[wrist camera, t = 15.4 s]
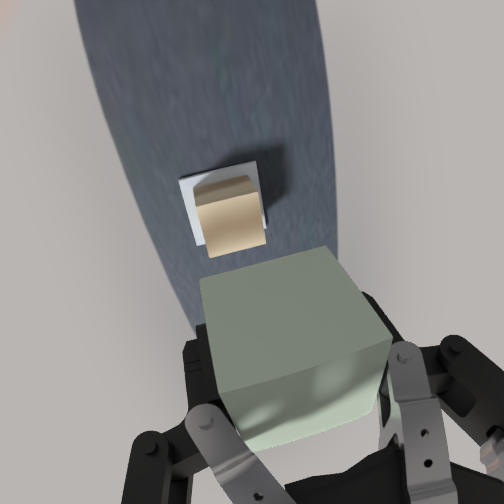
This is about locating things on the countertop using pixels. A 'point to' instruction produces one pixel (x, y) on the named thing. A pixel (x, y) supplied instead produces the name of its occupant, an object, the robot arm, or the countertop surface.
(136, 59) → the countertop surface
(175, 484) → the robot arm
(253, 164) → the white tile
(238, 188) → the maple block
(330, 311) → the sage block
